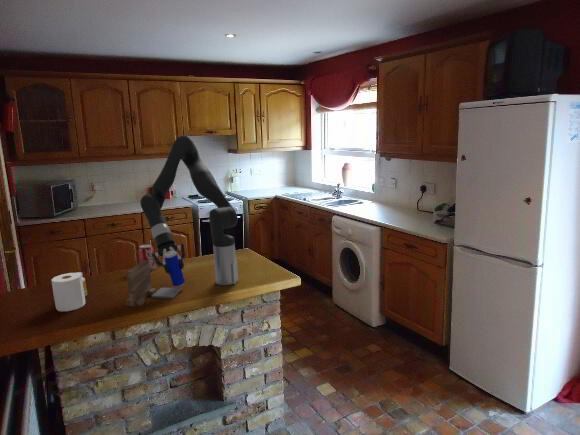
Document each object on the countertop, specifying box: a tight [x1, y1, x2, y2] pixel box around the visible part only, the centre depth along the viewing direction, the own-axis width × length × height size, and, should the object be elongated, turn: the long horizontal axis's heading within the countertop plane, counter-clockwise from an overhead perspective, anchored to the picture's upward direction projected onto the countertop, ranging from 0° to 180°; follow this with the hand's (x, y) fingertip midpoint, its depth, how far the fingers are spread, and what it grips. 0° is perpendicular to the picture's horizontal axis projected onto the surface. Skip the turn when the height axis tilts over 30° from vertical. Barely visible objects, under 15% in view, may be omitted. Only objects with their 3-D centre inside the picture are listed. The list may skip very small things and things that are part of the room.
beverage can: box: [164, 250, 186, 288], centre depth 178 cm, size 5×5×15 cm
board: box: [125, 260, 157, 307], centre depth 170 cm, size 6×14×14 cm, turn 171°
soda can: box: [138, 243, 156, 272], centre depth 206 cm, size 7×7×12 cm
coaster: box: [151, 287, 182, 299], centre depth 176 cm, size 9×9×1 cm
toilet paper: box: [50, 272, 87, 312], centre depth 166 cm, size 10×10×12 cm
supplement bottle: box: [76, 271, 88, 297], centre depth 176 cm, size 5×5×10 cm
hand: (175, 270), depth 176 cm, fingers closed on beverage can, 5 cm apart
